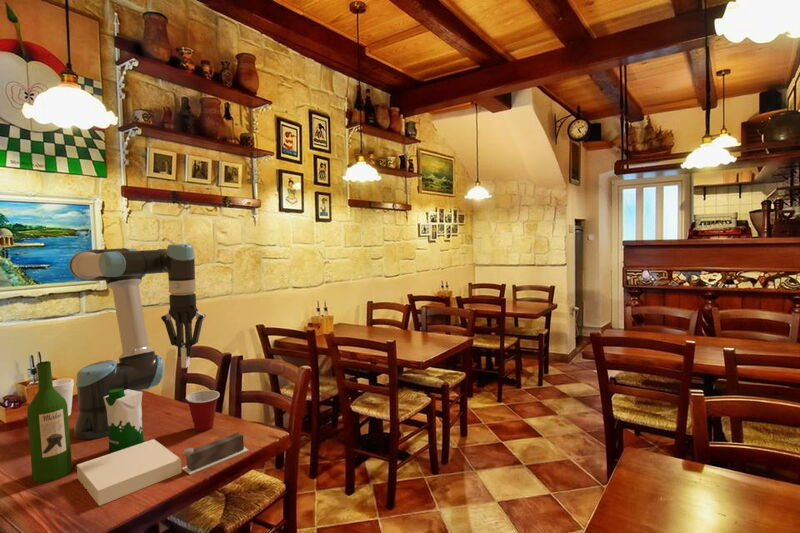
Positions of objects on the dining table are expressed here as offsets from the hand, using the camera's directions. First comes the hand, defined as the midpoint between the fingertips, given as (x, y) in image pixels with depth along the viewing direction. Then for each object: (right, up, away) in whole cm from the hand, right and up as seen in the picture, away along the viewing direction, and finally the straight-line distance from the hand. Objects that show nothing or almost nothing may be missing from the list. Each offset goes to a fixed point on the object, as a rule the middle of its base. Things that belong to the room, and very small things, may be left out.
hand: (185, 366), depth 141 cm
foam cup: (-62, -26, +29) cm, 73 cm away
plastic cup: (0, -25, +14) cm, 29 cm away
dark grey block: (+13, -26, -9) cm, 30 cm away
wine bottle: (-31, -28, -15) cm, 44 cm away
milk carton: (-18, -26, 0) cm, 32 cm away
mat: (+13, -26, -8) cm, 30 cm away
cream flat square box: (-8, -27, -16) cm, 33 cm away
